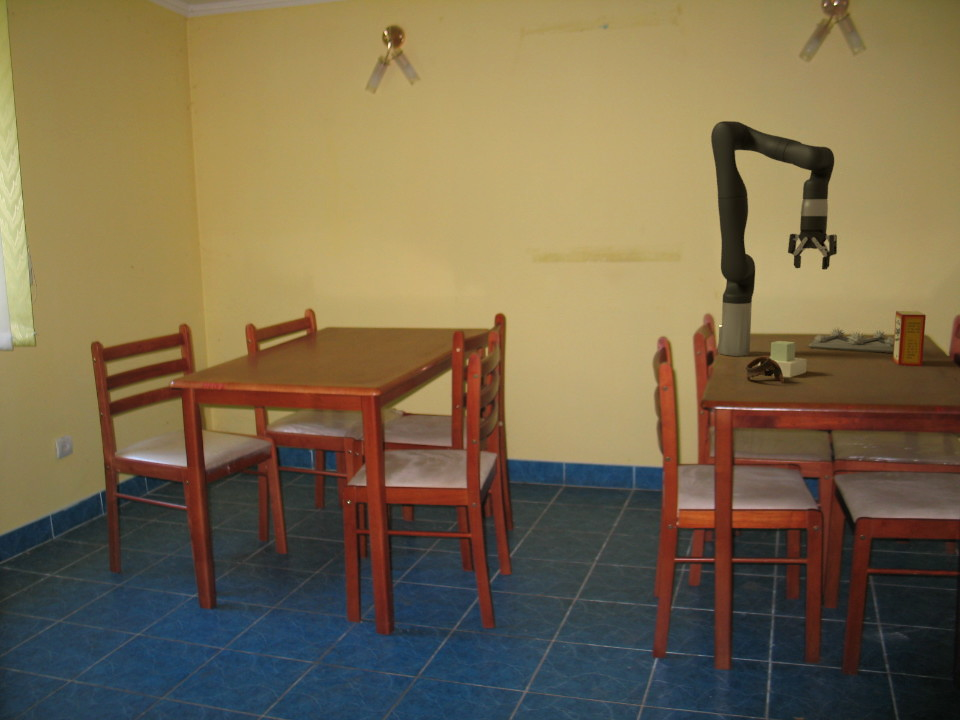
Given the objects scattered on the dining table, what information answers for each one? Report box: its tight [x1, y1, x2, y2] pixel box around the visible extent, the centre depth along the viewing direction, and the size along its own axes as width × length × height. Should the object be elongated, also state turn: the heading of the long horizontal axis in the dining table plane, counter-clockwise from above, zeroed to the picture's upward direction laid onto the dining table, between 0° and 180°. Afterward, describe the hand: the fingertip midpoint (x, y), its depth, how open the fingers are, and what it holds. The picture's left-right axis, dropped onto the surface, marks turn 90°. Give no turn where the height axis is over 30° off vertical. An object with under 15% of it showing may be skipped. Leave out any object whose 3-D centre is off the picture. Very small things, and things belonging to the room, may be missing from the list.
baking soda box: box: [892, 310, 927, 367], centre depth 275 cm, size 10×6×16 cm
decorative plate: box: [807, 327, 894, 354], centre depth 308 cm, size 30×22×7 cm
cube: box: [770, 340, 796, 361], centre depth 262 cm, size 5×5×5 cm
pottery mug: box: [745, 355, 785, 384], centre depth 252 cm, size 12×10×8 cm
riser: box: [757, 356, 807, 378], centre depth 263 cm, size 10×10×4 cm
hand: (810, 268), depth 272 cm, fingers open, 8 cm apart
